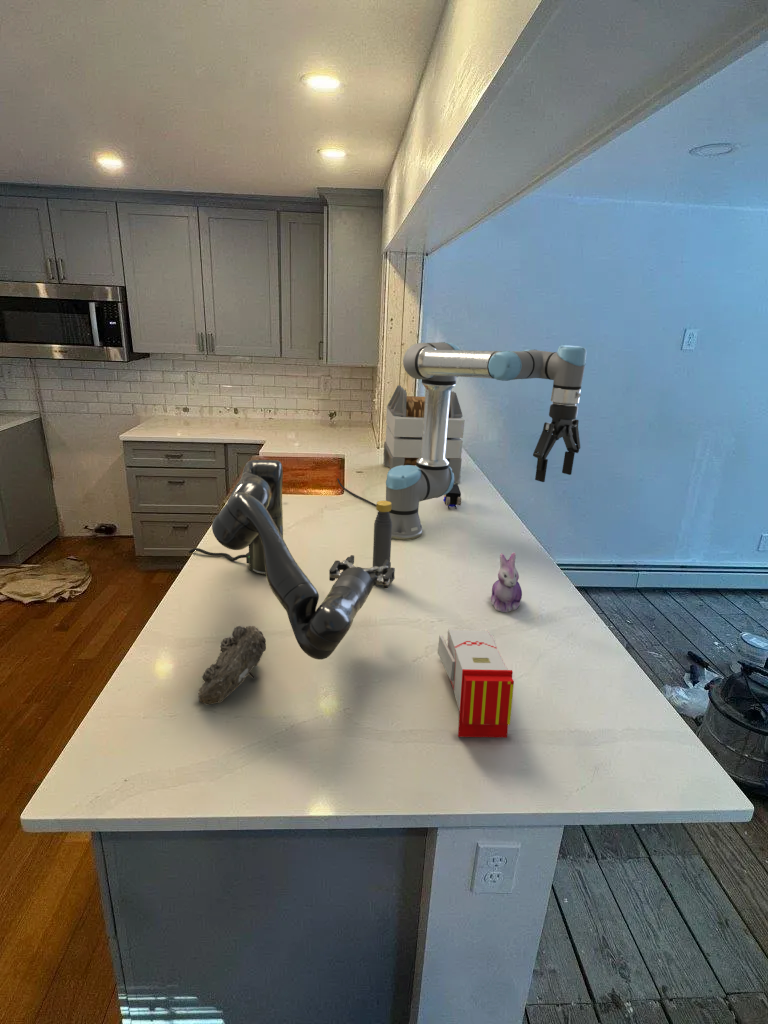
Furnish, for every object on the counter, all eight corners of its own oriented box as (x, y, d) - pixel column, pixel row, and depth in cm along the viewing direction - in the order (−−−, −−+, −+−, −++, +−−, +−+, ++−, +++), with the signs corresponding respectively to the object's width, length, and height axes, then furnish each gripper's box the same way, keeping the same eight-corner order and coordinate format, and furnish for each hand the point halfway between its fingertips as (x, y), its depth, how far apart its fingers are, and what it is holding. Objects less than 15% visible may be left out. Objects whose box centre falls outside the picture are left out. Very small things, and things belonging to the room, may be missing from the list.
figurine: (503, 617, 148) (510, 564, 143) (480, 599, 156) (486, 549, 151) (531, 609, 152) (539, 558, 147) (507, 593, 161) (513, 544, 156)
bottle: (369, 580, 165) (372, 502, 157) (384, 578, 167) (388, 500, 159) (375, 587, 161) (379, 508, 153) (391, 585, 163) (395, 506, 154)
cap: (373, 507, 157) (374, 501, 156) (387, 506, 159) (388, 499, 158) (379, 512, 154) (380, 506, 153) (393, 511, 155) (394, 504, 154)
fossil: (217, 628, 129) (265, 598, 124) (246, 656, 132) (293, 628, 127) (177, 698, 110) (231, 666, 105) (211, 729, 113) (266, 699, 108)
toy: (488, 613, 130) (523, 677, 101) (484, 667, 133) (517, 744, 104) (435, 612, 130) (455, 676, 101) (432, 666, 133) (451, 743, 103)
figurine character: (461, 514, 225) (456, 498, 239) (463, 497, 222) (458, 482, 235) (444, 513, 225) (440, 498, 239) (446, 496, 222) (442, 481, 235)
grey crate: (382, 463, 289) (386, 382, 275) (445, 464, 293) (451, 384, 279) (390, 482, 257) (394, 392, 243) (460, 483, 261) (468, 394, 247)
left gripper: (318, 602, 123) (341, 571, 138) (382, 612, 120) (398, 579, 135) (318, 571, 121) (341, 542, 135) (383, 580, 117) (399, 550, 132)
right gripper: (550, 409, 147) (539, 487, 154) (600, 402, 163) (588, 473, 170) (526, 405, 152) (516, 480, 159) (577, 398, 168) (566, 468, 175)
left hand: (370, 560), depth 135 cm, fingers open, 8 cm apart
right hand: (553, 477), depth 165 cm, fingers open, 13 cm apart
